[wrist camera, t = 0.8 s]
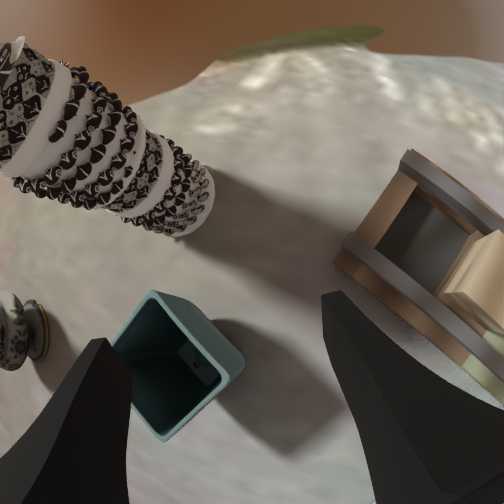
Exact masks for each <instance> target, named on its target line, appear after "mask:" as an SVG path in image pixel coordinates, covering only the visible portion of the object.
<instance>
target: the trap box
mask: <svg viewBox="0 0 504 504" xmlns="http://www.w3.org/2000/svg"><path fill="white" fill-rule="evenodd" d="M498 229H499V230H500V231H501V232H502V233H503V234H504V219H503V218H502V217H501V216H500V215H499V214H498V213H496V212H495V211H494V210H493V209H492V208H491V207H490V206H488V205H487V204H486V203H485V202H484V201H482V200H481V199H480V198H479V197H478V196H476V195H475V194H474V193H473V192H471V191H470V190H469V189H468V188H466V187H465V186H464V185H462V184H461V183H460V182H459V181H457V180H456V179H455V178H453V177H452V176H451V175H449V174H448V173H447V172H445V171H444V170H442V169H441V168H440V167H438V166H437V165H435V164H434V163H433V162H431V161H430V160H428V159H427V158H425V157H424V156H422V155H421V154H419V153H418V152H416V151H415V150H413V149H411V151H410V150H408V149H407V151H406V152H405V154H404V156H403V157H402V159H401V160H400V164H399V168H398V171H397V172H396V174H395V175H394V177H393V178H392V180H391V181H390V183H389V184H388V186H387V187H386V189H385V190H384V192H383V193H382V194H381V196H380V197H379V199H378V200H377V202H376V203H375V205H374V206H373V207H372V209H371V210H370V212H369V213H368V215H367V216H366V217H365V219H364V220H363V222H362V223H361V224H360V226H359V227H358V229H357V230H356V231H355V233H352V232H350V233H349V235H348V236H347V238H346V239H345V240H344V242H343V243H342V244H341V245H342V248H343V249H342V250H341V252H340V253H339V254H338V256H337V257H336V258H335V260H334V261H333V263H334V264H335V265H336V266H337V267H338V268H340V269H341V270H342V271H344V272H345V273H346V274H347V275H349V276H350V277H351V278H353V279H354V280H355V281H356V282H358V283H359V284H360V285H361V286H363V287H364V288H365V289H367V290H368V291H369V292H370V293H372V294H373V295H374V296H375V297H377V298H378V299H379V300H380V301H382V302H383V303H384V304H385V305H387V306H388V307H389V308H390V309H391V310H393V311H394V312H395V313H396V314H398V315H399V316H400V317H401V318H403V319H404V320H405V321H406V322H407V323H409V324H410V325H411V326H412V327H413V328H415V329H416V330H417V331H418V332H419V333H421V334H422V335H423V336H424V337H425V338H427V339H428V340H429V341H430V342H431V343H433V344H434V345H435V346H436V347H437V348H439V349H440V350H441V351H442V352H443V353H444V354H446V355H447V356H448V357H449V358H450V359H451V360H453V361H454V362H455V363H456V364H457V365H458V366H460V367H461V368H462V369H463V370H464V371H465V372H466V373H468V374H469V375H470V376H471V377H472V378H473V379H474V380H476V381H477V382H478V383H479V384H480V385H481V386H482V387H483V388H485V389H486V390H487V391H488V392H489V393H490V394H491V395H492V396H493V397H495V398H496V399H497V400H498V401H499V402H500V403H501V404H502V405H503V406H504V334H502V333H498V332H494V331H490V330H486V329H484V328H483V327H482V326H481V325H479V324H478V323H477V322H476V321H475V320H474V319H473V318H472V317H471V316H470V315H468V314H467V313H466V312H465V311H464V310H463V309H462V308H460V307H459V306H458V305H457V304H456V303H455V302H454V301H452V300H451V299H450V298H449V297H448V296H447V295H445V294H444V292H445V290H446V289H447V287H448V286H449V284H450V283H451V281H452V279H453V278H454V276H455V275H456V273H457V271H458V270H459V268H460V267H461V265H462V263H463V262H464V260H465V258H466V257H467V255H468V253H469V251H470V250H471V248H472V246H473V244H474V243H475V242H476V241H478V240H480V239H481V238H483V237H485V236H487V235H489V234H491V233H493V232H494V231H496V230H498Z"/></svg>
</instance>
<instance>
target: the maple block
mask: <svg viewBox="0 0 504 504" xmlns="http://www.w3.org/2000/svg"><path fill="white" fill-rule="evenodd" d="M444 294H445V295H447V296H448V297H449V298H450V299H451V300H452V301H454V302H455V303H456V304H457V305H458V306H459V307H460V308H462V309H463V310H464V311H465V312H466V313H467V314H468V315H470V316H471V317H472V318H473V319H474V320H475V321H476V322H477V323H478V324H479V325H481V326H482V327H483V328H484V329H486V330H490V331H494V332H498V333H502V334H504V234H503V233H502V232H501V231H500V230H499V229H498V230H496V231H494V232H493V233H491V234H489V235H487V236H485V237H483V238H481V239H480V240H478V241H476V242H475V243H474V244H473V246H472V248H471V250H470V251H469V253H468V255H467V257H466V258H465V260H464V262H463V263H462V265H461V267H460V268H459V270H458V271H457V273H456V275H455V276H454V278H453V279H452V281H451V283H450V284H449V286H448V287H447V289H446V290H445V292H444Z"/></svg>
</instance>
